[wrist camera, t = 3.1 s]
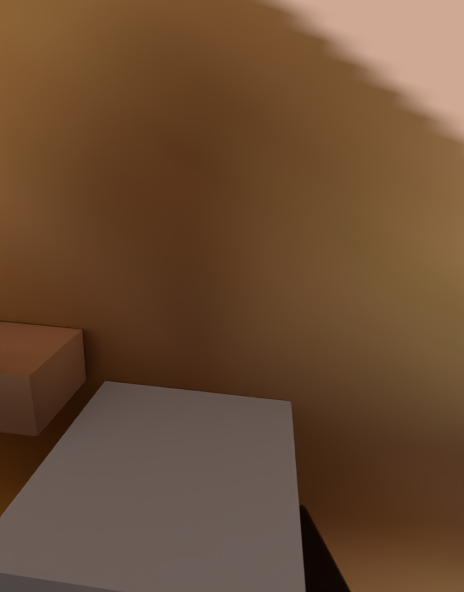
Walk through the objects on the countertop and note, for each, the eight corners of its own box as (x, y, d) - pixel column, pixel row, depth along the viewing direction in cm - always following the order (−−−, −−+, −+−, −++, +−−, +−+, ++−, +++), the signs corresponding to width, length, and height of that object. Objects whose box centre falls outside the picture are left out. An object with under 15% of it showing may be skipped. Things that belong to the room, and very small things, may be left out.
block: (272, 539, 9) (272, 800, 5) (113, 517, 10) (9, 749, 6) (291, 401, 8) (307, 620, 4) (105, 380, 8) (-39, 567, 4)
